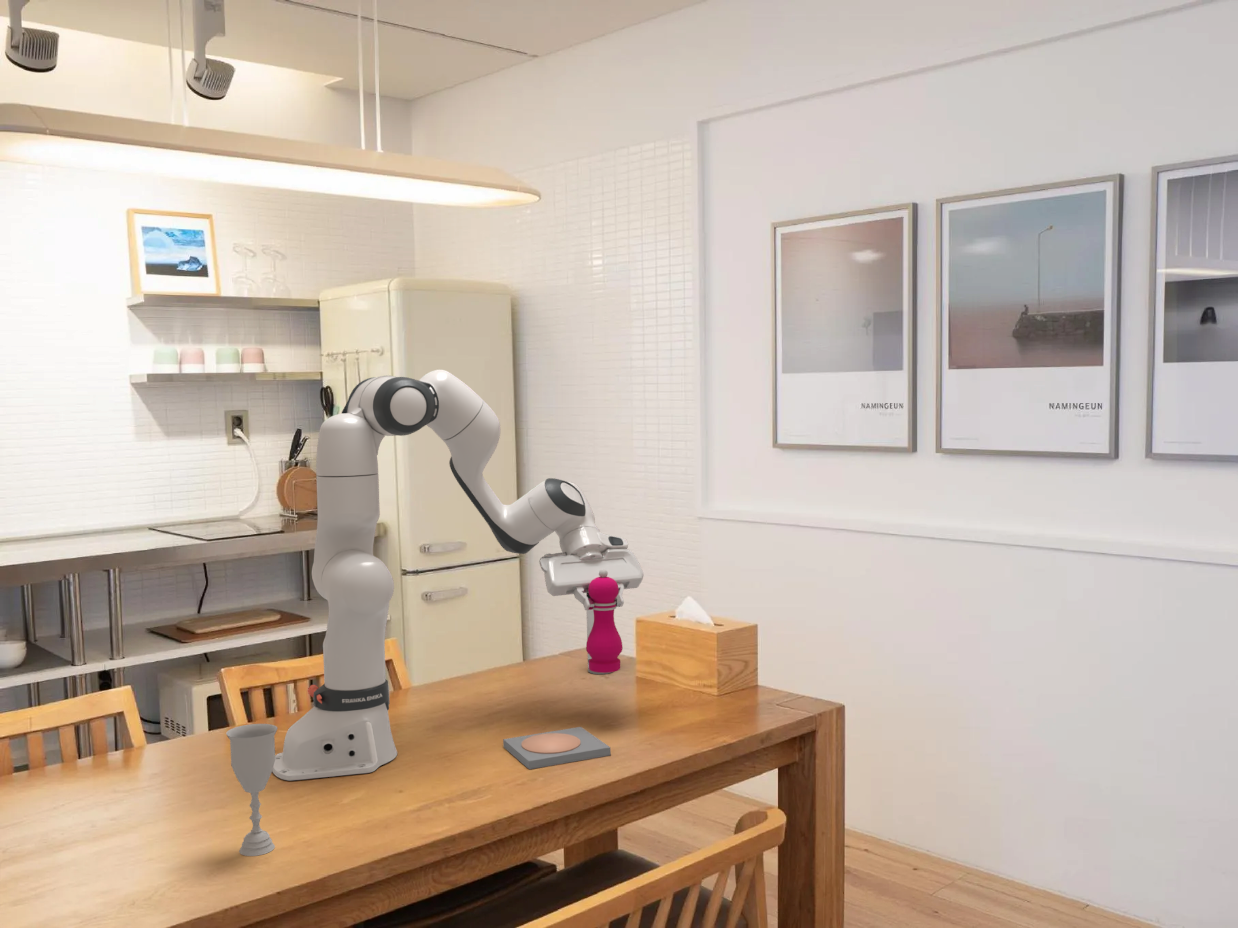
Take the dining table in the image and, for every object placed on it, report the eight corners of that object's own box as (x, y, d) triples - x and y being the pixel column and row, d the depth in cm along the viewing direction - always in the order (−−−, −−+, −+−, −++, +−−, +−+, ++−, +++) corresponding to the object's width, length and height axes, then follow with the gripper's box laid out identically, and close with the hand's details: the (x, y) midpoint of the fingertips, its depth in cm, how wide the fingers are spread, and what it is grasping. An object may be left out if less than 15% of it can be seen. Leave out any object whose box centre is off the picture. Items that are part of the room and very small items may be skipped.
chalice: (287, 838, 167) (283, 722, 166) (275, 857, 161) (270, 737, 159) (239, 840, 167) (234, 724, 166) (224, 859, 160) (219, 738, 159)
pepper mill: (622, 673, 214) (621, 571, 213) (585, 673, 214) (583, 572, 213) (623, 664, 221) (621, 565, 220) (587, 664, 221) (585, 566, 220)
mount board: (529, 769, 196) (528, 759, 196) (503, 746, 208) (503, 737, 208) (610, 755, 203) (610, 745, 202) (580, 734, 215) (580, 725, 215)
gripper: (540, 545, 218) (560, 602, 210) (633, 538, 227) (655, 592, 218) (533, 564, 222) (551, 621, 214) (624, 556, 231) (645, 610, 223)
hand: (605, 606), depth 216 cm, fingers closed on pepper mill, 5 cm apart
